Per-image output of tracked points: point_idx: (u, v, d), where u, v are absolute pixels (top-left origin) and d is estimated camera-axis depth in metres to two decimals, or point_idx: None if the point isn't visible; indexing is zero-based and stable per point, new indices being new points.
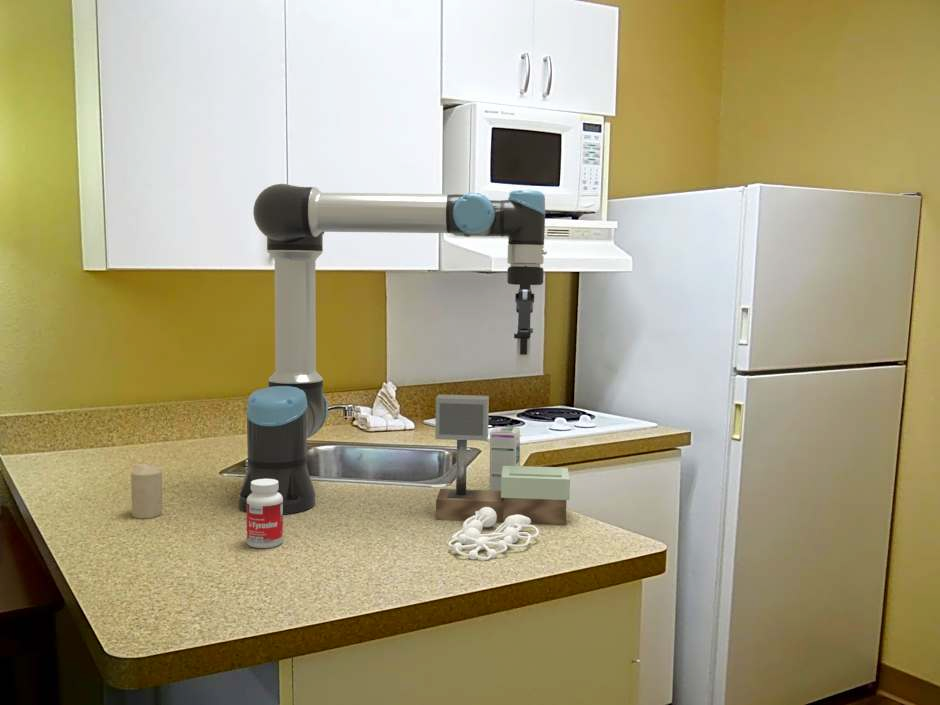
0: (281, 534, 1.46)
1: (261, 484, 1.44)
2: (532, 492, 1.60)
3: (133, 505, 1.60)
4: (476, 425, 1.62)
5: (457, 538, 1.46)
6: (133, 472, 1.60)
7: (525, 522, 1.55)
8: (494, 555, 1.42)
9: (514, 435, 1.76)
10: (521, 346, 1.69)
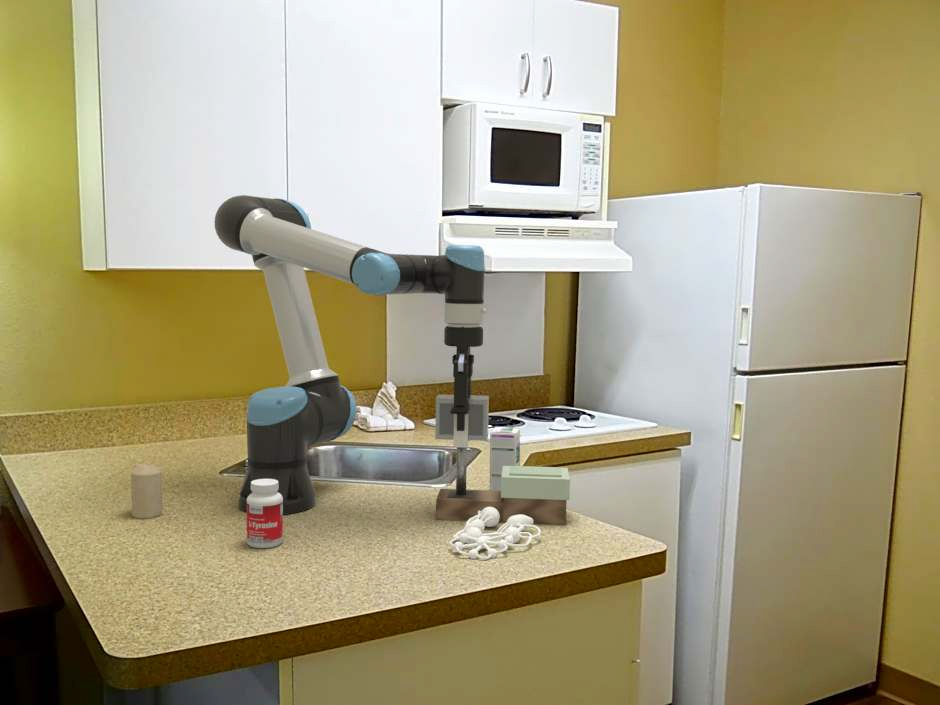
0: (281, 534, 1.46)
1: (261, 484, 1.44)
2: (532, 492, 1.60)
3: (133, 505, 1.60)
4: (476, 425, 1.62)
5: (458, 537, 1.46)
6: (133, 472, 1.60)
7: (527, 522, 1.55)
8: (494, 554, 1.42)
9: (514, 435, 1.76)
10: (458, 422, 1.60)
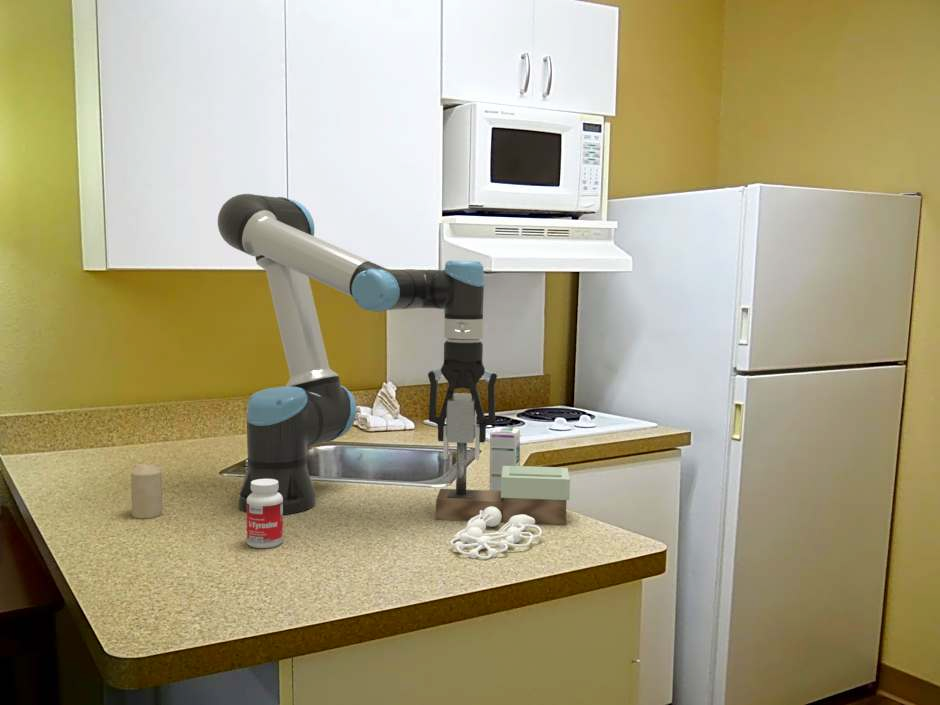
0: (281, 534, 1.46)
1: (261, 484, 1.44)
2: (532, 492, 1.60)
3: (133, 505, 1.60)
4: None
5: (459, 537, 1.46)
6: (133, 472, 1.60)
7: (529, 522, 1.55)
8: (494, 554, 1.42)
9: (514, 435, 1.76)
10: None
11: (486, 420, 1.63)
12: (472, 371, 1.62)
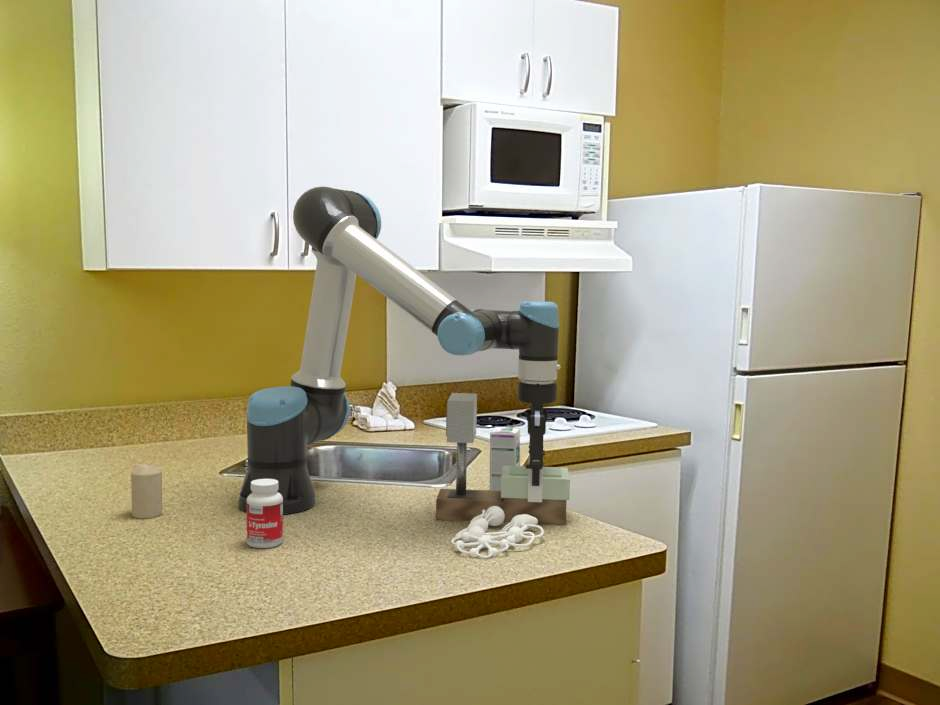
0: (281, 534, 1.46)
1: (261, 484, 1.44)
2: None
3: (133, 505, 1.60)
4: None
5: (460, 536, 1.47)
6: (133, 472, 1.60)
7: (532, 522, 1.55)
8: (495, 554, 1.42)
9: (514, 435, 1.76)
10: (533, 477, 1.58)
11: None
12: None
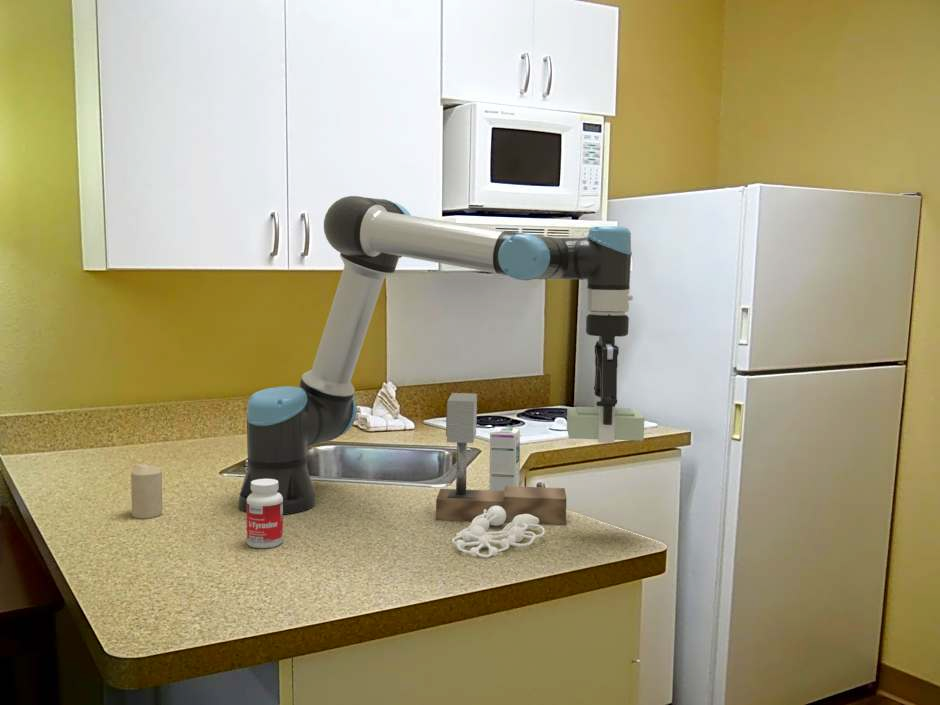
0: (281, 534, 1.46)
1: (261, 484, 1.44)
2: None
3: (133, 505, 1.60)
4: None
5: (461, 535, 1.47)
6: (133, 472, 1.60)
7: (533, 522, 1.55)
8: (495, 553, 1.43)
9: (514, 435, 1.76)
10: (605, 415, 1.46)
11: None
12: None
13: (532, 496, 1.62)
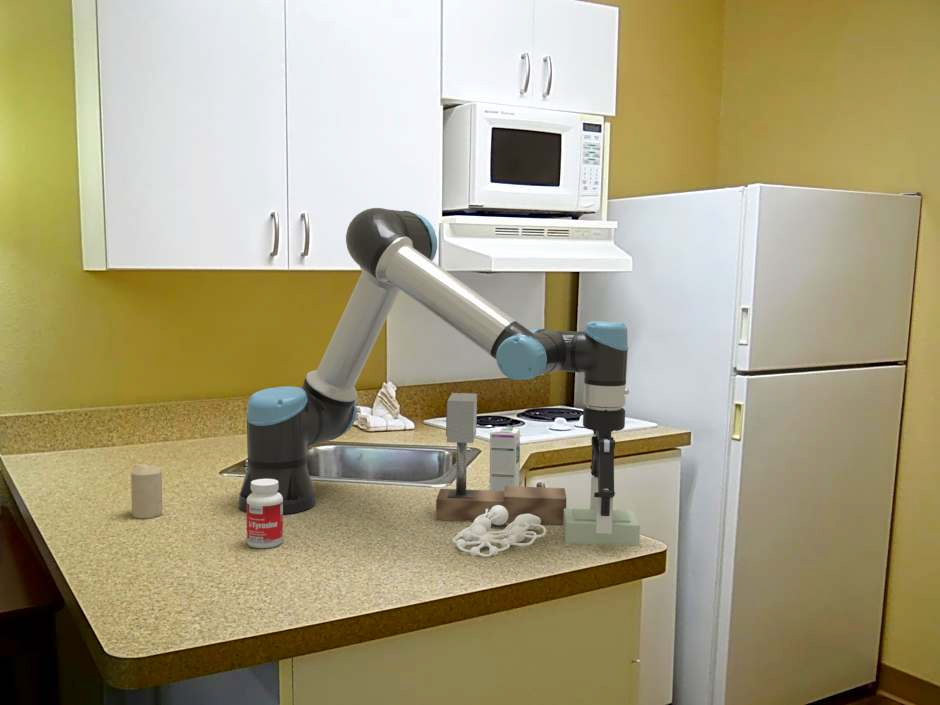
0: (281, 534, 1.46)
1: (261, 484, 1.44)
2: (599, 539, 1.50)
3: (133, 505, 1.60)
4: None
5: (462, 534, 1.48)
6: (133, 472, 1.60)
7: (535, 521, 1.55)
8: (496, 552, 1.43)
9: (514, 435, 1.76)
10: (603, 507, 1.46)
11: None
12: None
13: (532, 496, 1.62)
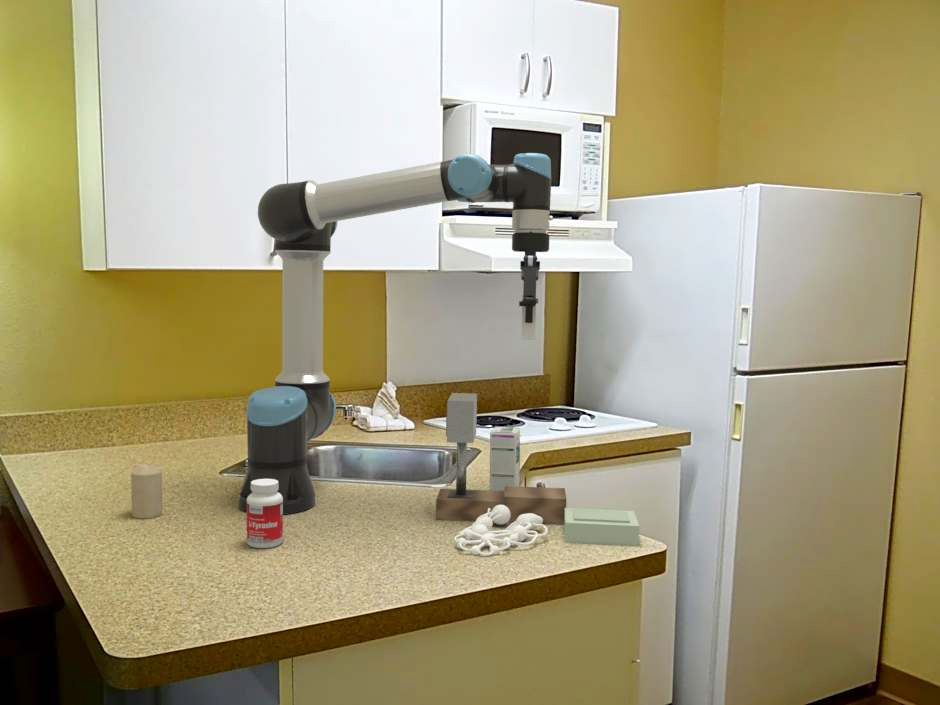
0: (281, 534, 1.46)
1: (261, 484, 1.44)
2: (598, 539, 1.50)
3: (133, 505, 1.60)
4: None
5: (463, 533, 1.48)
6: (133, 472, 1.60)
7: (537, 521, 1.56)
8: (496, 551, 1.43)
9: (514, 435, 1.76)
10: (526, 314, 1.63)
11: None
12: None
13: (532, 496, 1.62)
